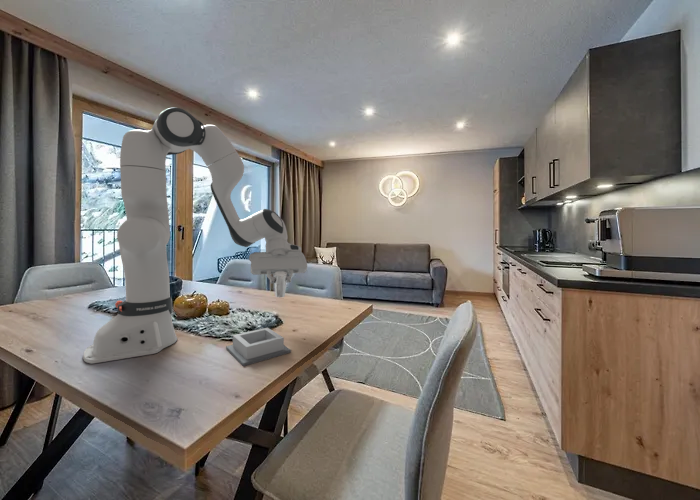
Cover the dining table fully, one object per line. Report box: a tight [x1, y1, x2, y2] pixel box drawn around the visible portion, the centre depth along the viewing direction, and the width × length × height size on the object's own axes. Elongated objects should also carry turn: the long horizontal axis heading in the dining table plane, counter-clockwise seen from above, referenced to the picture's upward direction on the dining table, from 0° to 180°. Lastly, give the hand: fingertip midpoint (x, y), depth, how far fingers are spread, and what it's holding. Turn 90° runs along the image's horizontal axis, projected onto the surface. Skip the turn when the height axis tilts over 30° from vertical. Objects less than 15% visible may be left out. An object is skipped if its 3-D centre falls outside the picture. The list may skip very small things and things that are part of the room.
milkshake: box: [273, 269, 289, 298], centre depth 105 cm, size 4×5×10 cm
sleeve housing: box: [225, 327, 292, 367], centre depth 87 cm, size 14×14×4 cm
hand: (280, 282), depth 104 cm, fingers closed on milkshake, 4 cm apart
